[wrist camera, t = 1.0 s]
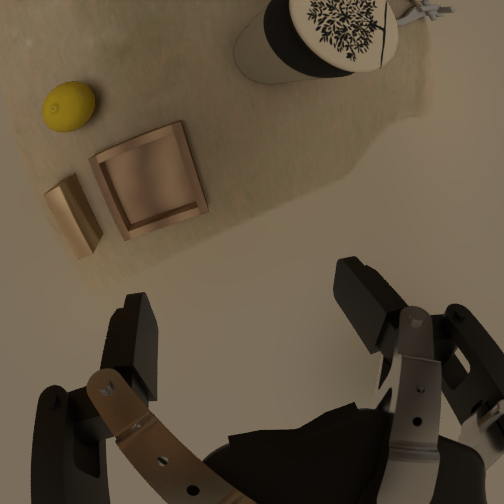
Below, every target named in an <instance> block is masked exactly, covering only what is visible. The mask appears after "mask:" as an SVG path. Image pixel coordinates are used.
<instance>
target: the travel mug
mask: <svg viewBox="0 0 504 504" xmlns="http://www.w3.org/2000/svg"><path fill="white" fill-rule="evenodd" d="M397 45H398V26H397V22H396V19H395V16H394V13H393V11H392V9H391V7H390V6H389V4H388V2H387V1H386V0H271V1H270V2H269V3H268V4H267V5H266V6H265V7H264V9H263V10H262V11H261V12H260V13H259V14H258V15H257V16H256V17H255V18H254V19H253V21H252V22H251V23H250V24H249V25H248V26H247V27H246V29H245V30H244V31H243V32H242V33H241V34H240V36H239V37H238V38H237V40H236V43H235V46H234V59H235V62H236V64H237V66H238V68H239V69H240V71H241V72H242V73H243V74H244V75H245V76H247V77H248V78H250V79H251V80H253V81H256V82H258V83H262V84H278V83H285V82H292V81H300V80H309V79H320V78H334V77H343V76H348V75H351V74H353V73H355V72H357V73H365V72H371V71H375V70H378V69H380V68H382V67H383V66H385V65H386V64H387V63H388V62H389V61H390V60H391V58H392V57H393V55H394V53H395V51H396V49H397Z"/></svg>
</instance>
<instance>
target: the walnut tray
mask: <svg viewBox="0 0 504 504" xmlns="http://www.w3.org/2000/svg"><path fill="white" fill-rule="evenodd" d="M88 160H89V162H90V165H91V167H92V170H93V173H94V175H95V177H96V180H97V182H98V185H99V187H100V189H101V192H102V194H103V196H104V199H105V201H106V203H107V205H108V208H109V210H110V212H111V214H112V216H113V219H114V221H115V223H116V225H117V227H118V229H119V231H120V233H121V235H122V237H123V239H124V241H126V240H129V239H132V238H135V237H137V236H140V235H143V234H146V233H148V232H151V231H154V230H157V229H160V228H163V227H166V226H168V225H171V224H174V223H177V222H180V221H183V220H186V219H189V218H192V217H195V216H198V215H201V214H205V213H208V212H209V210H208V205H207V202H206V199H205V196H204V193H203V189H202V186H201V183H200V180H199V177H198V174H197V170H196V167H195V164H194V161H193V158H192V154H191V151H190V148H189V145H188V141H187V138H186V135H185V131H184V128H183V125H182V121H181V120H180V121H177V122H174V123H171V124H168V125H165V126H163V127H160V128H157V129H154V130H152V131H149V132H146V133H144V134H141V135H139V136H136V137H134V138H131V139H129V140H126V141H124V142H122V143H119V144H117V145H115V146H112V147H110V148H108V149H106V150H104V151H102V152H99V153H97V154H95V155H94V156H92V157H91V158H89V159H88Z"/></svg>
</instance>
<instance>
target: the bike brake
mask: <svg viewBox="0 0 504 504" xmlns="http://www.w3.org/2000/svg"><path fill="white" fill-rule="evenodd" d="M421 3H422V4H423V5H425V6H419V7H412V8H411V9H410V10H409V11H408V12H407V13H406V14H405V15H404V16H403V17H402V18H400V19H397V20H396V22H397V26H401V25H406V24H408V23H410V22H412V21H415V20H417V19H419V18H421V17H424V16H427V15H428V16H429V17H430V19H431V20H432V21H433V20H437V19H436V17H442V16H444V14H445V13H452V12H455V9H454V8H453V7H441V6H439V5H437V4H436V5H430V2H429V0H423V1H421Z"/></svg>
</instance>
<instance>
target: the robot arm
mask: <svg viewBox="0 0 504 504" xmlns="http://www.w3.org/2000/svg"><path fill="white" fill-rule="evenodd" d="M333 292H334V297H335V300H336V301H337V303H338V304H339V306H340V307H341V309H342V311H343V312H344V313H345V315H346V317H347V318H348V320H349V321H350V323H351V324H352V326H353V327H354V329H355V330H356V332H357V334H358V335H359V336H360V338H361V340H362V341H363V343H364V344H365V346H366V348H367V349H368V351H369V352H370V354H373V353H376V352H378V351H381V353H382V354H383V355H382V357H381V361H380V367H379V373H378V378H377V384H376V389H375V393H374V397H373V400H372V402H371V405H370V407H369V409H368V408H363V409H358V408H357V406H356V404H355V402H353V403H351V404H348V405H345V406H342V407H340V408H337V409H334V410H331V411H328V412H326V413H324V414H322V415H321V416H319V417H317V418H316V419H314V420H312V421H311V422H309V423H307V424H305V425H304V426H302V427H300V428H298V429H290V430H258V431H253V432H248V433H243V434H237V435H231V436H228V439H229V443H228V444H226V445H223V446H221V447H220V448H218V449H216V450H215V451H213V452H212V453H210V454H209V455H208V456H207V457H206V458H205V459H204V460H203V461H201V460H200V459H199V458H197V457H196V456H195V455H194V454H193V453H192V452H191V451H190V450H189V449H188V448H187V447H185V446H184V445H183V444H182V443H181V442H180V441H179V440H178V439H177V438H176V437H175V436H174V435H173V434H172V433H171V432H170V431H169V430H168V429H167V428H166V427H165V426H164V425H163V424H162V423H161V421H159V419H158V418H157V417H156V416H155V415H154V414H152V412H151V411H150V410H149V409H148V401H157V357H158V326H157V322H156V318H155V316H154V313H153V311H152V308H151V306H150V303H149V300H148V297H147V295H146V293H145V292H142V293H135V294H128V295H127V296H126V299H125V303H124V308H119V309H117V310H116V311H115V313H114V314H113V315H112V317H111V318H110V322H109V327H108V332H107V336H106V337H107V339H106V340H105V346H104V350H103V355H102V360H101V366H100V370H99V371H97V372H95V373H94V374H93V375H92V376H91V377H90V379H89V381H88V383H87V386H85V387H83V388H79V389H76V390H74V391H71V392H66V390H64V389H63V388H62V387H61V386H57V385H53V386H50V387H47V388H46V389H45V390H44V391H43V392H42V393H41V395H40V397H39V400H38V406H37V412H36V418H35V425H34V433H33V443H32V457H31V504H110V497H109V488H108V477H107V463H106V439H107V438H111V437H114V436H115V438H116V444H117V446H118V447H119V449H120V450H121V451H122V453H123V454H124V455H125V456H126V458H127V459H128V460H129V461H130V463H131V464H132V465H133V466H134V468H135V469H136V470H137V471H138V472H139V474H140V475H141V476H142V477H143V478H144V479H145V480H146V482H147V483H149V485H150V486H151V487H152V488H153V489H154V490H155V491H156V492H157V493H158V494H159V495H160V496H161V497H162V498H163V500H165V501H166V502H167V503H168V504H487V501H486V492H485V475H486V472H485V471H486V470H487V469H488V468H489V467H490V466H491V465H492V464H494V463H495V462H496V461H497V460H498V459H499V458H500V457H501V456H502V455H503V454H504V354H503V352H502V350H501V349H500V348H499V346H498V345H497V344H496V343H495V341H494V340H493V339H492V337H491V336H490V335H489V334H488V332H487V331H486V330H485V329H484V327H483V326H482V325H481V324H480V323H479V322H478V320H477V319H476V318H475V317H474V315H473V314H472V313H471V312H470V311H469V310H468V309H467V308H466V307H464V306H462V305H460V304H451V305H449V306H448V307H447V309H446V311H445V313H444V314H441V315H429V313H428V312H426V311H425V310H424V309H422V308H420V307H417V306H408V305H407V304H406V303H405V301H404V300H403V299H402V298H401V297H400V296H399V295H398V294H397V292H396V291H395V290H394V289H393V288H392V287H391V286H389V283H388V282H387V281H386V280H384V279H383V277H382V276H381V275H380V274H379V273H378V272H377V271H376V270H375V269H373V268H371V267H369V266H367V265H365V266H364V265H363V263H362V262H361V261H359V259H358V258H357V257H355V256H352V257H347V258H342V259H339V260H338V261H337V265H336V273H335V279H334V286H333ZM457 348H459V349H460V350H461V352H462V353H463V354H464V356H465V357H466V359H467V360H468V362H469V364H470V372H469V374H468V373H467V372H466V370H465V368H464V367H463V365H462V364H461V362H460V361H459V359H458V358H457V357H456V355H455V354H454V353H455V351H456V350H457ZM441 390H442V392H443V394H444V395H445V397H446V399H447V401H448V402H449V404H450V406H451V408H452V409H453V411H454V413H455V415H456V416H457V419H458V421H459V422H460V424H461V426H462V429H461V434H460V436H459V439H458V440H459V442H456V441H453V440H451V439H448V438H446V437H443V436H441V435H438V433H439V423H440V410H441Z"/></svg>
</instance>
